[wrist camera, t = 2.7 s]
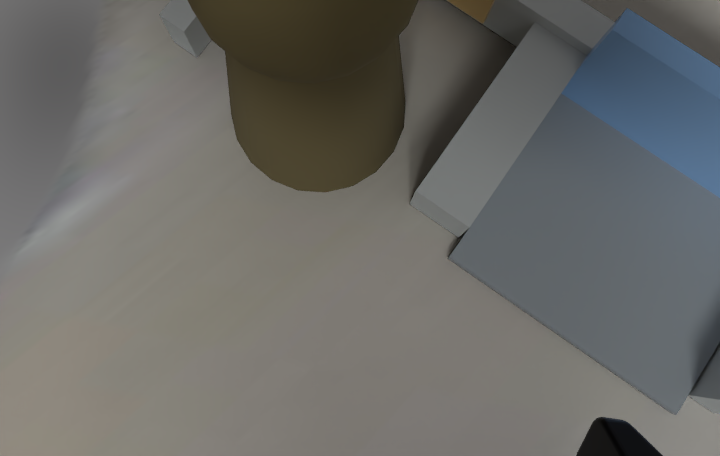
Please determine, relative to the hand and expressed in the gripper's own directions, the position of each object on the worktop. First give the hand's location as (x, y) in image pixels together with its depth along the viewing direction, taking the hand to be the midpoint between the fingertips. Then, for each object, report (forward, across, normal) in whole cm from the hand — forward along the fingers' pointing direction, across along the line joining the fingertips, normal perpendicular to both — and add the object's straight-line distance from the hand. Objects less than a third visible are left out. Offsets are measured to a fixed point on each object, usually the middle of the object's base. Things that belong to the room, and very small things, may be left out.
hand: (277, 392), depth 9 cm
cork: (+16, 0, +2) cm, 16 cm away
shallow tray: (+15, -6, +1) cm, 16 cm away
